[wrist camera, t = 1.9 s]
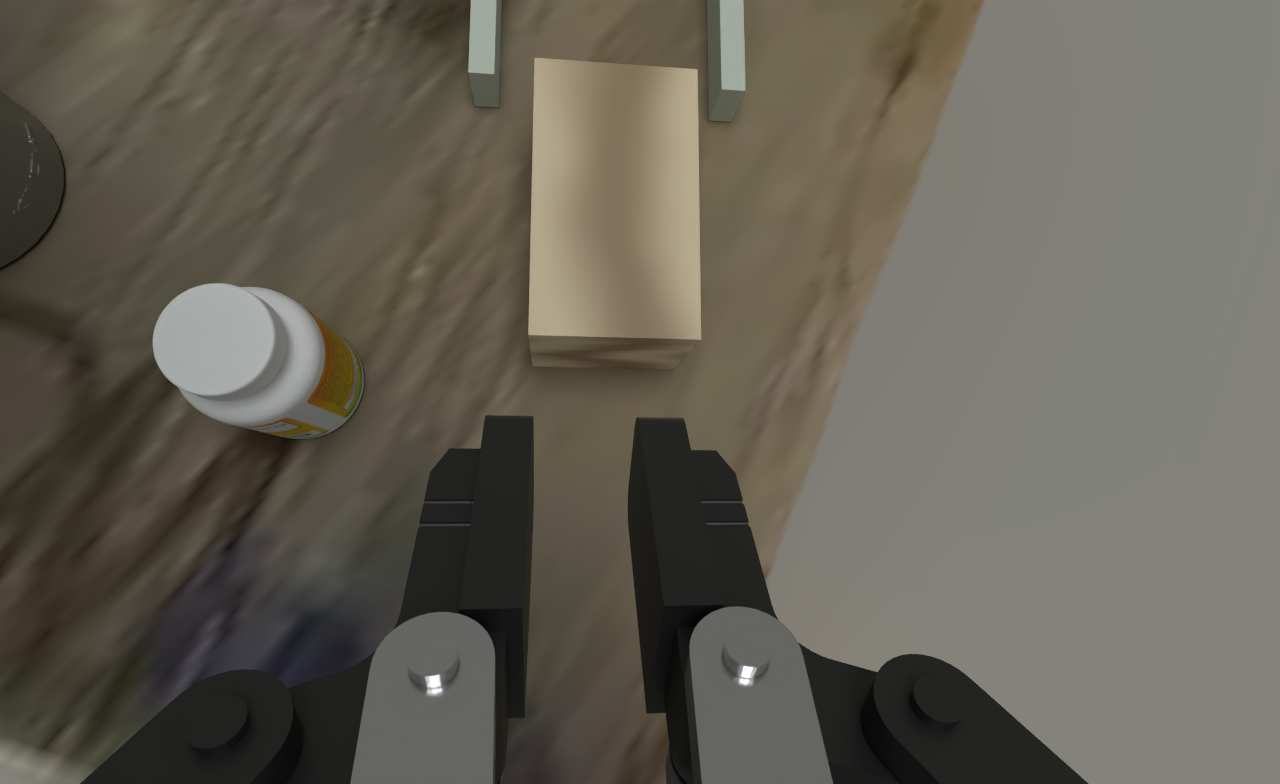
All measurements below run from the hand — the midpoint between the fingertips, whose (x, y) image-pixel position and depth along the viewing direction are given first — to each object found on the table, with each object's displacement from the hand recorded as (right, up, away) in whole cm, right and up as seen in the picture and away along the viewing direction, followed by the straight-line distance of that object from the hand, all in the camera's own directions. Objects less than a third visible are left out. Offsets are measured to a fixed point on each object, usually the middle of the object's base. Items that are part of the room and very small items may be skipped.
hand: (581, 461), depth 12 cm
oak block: (-1, +8, +26) cm, 27 cm away
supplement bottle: (-15, +1, +23) cm, 27 cm away
